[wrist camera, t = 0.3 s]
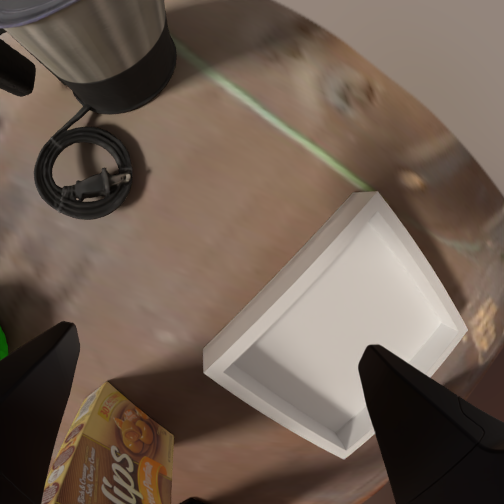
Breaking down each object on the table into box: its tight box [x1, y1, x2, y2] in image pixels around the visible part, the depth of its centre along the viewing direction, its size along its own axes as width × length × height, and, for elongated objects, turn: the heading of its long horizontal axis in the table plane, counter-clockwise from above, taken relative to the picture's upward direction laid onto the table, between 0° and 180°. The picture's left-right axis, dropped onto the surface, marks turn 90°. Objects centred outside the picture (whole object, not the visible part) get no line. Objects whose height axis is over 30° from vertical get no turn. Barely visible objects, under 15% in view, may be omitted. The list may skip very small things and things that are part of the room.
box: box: [203, 191, 468, 459], centre depth 24 cm, size 18×18×4 cm
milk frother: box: [0, 0, 176, 220], centre depth 13 cm, size 14×16×15 cm
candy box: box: [41, 381, 174, 504], centre depth 17 cm, size 9×4×15 cm, turn 41°
